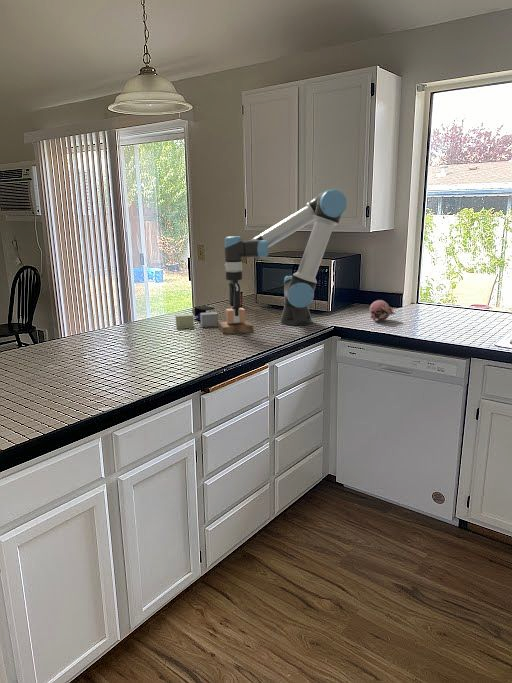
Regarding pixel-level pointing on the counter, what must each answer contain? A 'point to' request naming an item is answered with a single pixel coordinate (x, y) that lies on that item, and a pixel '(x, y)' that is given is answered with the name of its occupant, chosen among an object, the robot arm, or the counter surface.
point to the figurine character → (200, 310)
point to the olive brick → (184, 321)
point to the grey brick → (209, 319)
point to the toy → (380, 310)
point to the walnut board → (235, 327)
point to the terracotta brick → (230, 315)
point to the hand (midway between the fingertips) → (235, 321)
